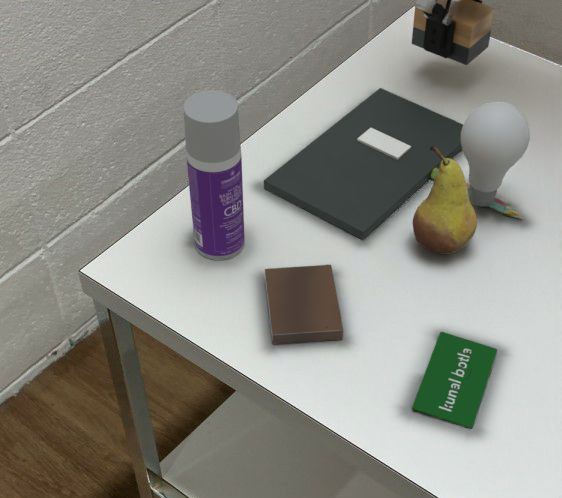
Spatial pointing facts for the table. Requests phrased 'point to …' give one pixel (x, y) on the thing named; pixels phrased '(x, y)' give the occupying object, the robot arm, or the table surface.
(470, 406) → the business card
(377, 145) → the white rectangular block
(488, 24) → the eraser
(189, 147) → the container
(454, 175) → the fruit
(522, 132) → the lightbulb
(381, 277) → the table surface
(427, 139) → the board
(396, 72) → the table surface
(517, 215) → the pencil
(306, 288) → the eraser rest
